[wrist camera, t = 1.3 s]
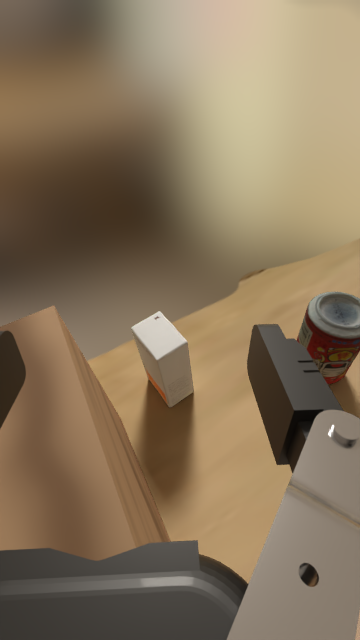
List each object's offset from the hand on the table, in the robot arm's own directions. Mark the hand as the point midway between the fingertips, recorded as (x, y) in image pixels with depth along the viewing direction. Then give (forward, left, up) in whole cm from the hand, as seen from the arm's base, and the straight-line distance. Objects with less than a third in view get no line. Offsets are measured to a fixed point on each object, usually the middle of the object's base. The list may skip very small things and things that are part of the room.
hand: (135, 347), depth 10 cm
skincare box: (-5, -15, -30) cm, 34 cm away
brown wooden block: (+6, -5, -30) cm, 31 cm away
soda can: (-24, -7, -30) cm, 39 cm away
